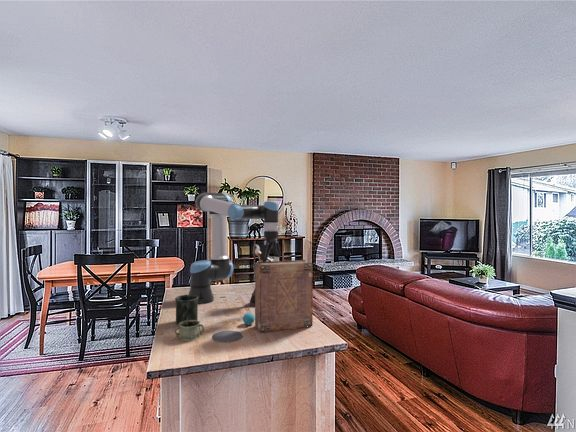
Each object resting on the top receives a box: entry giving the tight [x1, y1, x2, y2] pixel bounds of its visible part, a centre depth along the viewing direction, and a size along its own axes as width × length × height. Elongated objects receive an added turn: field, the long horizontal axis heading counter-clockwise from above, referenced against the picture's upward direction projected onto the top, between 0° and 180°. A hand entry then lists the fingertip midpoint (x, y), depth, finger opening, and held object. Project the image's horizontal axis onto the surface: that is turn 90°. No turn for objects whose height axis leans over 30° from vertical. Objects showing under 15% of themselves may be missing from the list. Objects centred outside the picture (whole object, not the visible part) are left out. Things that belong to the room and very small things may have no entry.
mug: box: [174, 294, 199, 326], centre depth 161 cm, size 11×15×12 cm
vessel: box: [174, 320, 205, 342], centre depth 143 cm, size 12×9×6 cm
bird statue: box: [249, 243, 274, 307], centre depth 197 cm, size 17×13×35 cm
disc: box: [211, 330, 244, 343], centre depth 145 cm, size 13×13×1 cm
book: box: [254, 259, 314, 334], centre depth 158 cm, size 25×9×30 cm, turn 111°
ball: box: [242, 312, 255, 326], centre depth 161 cm, size 6×6×6 cm
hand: (270, 271), depth 179 cm, fingers open, 13 cm apart
